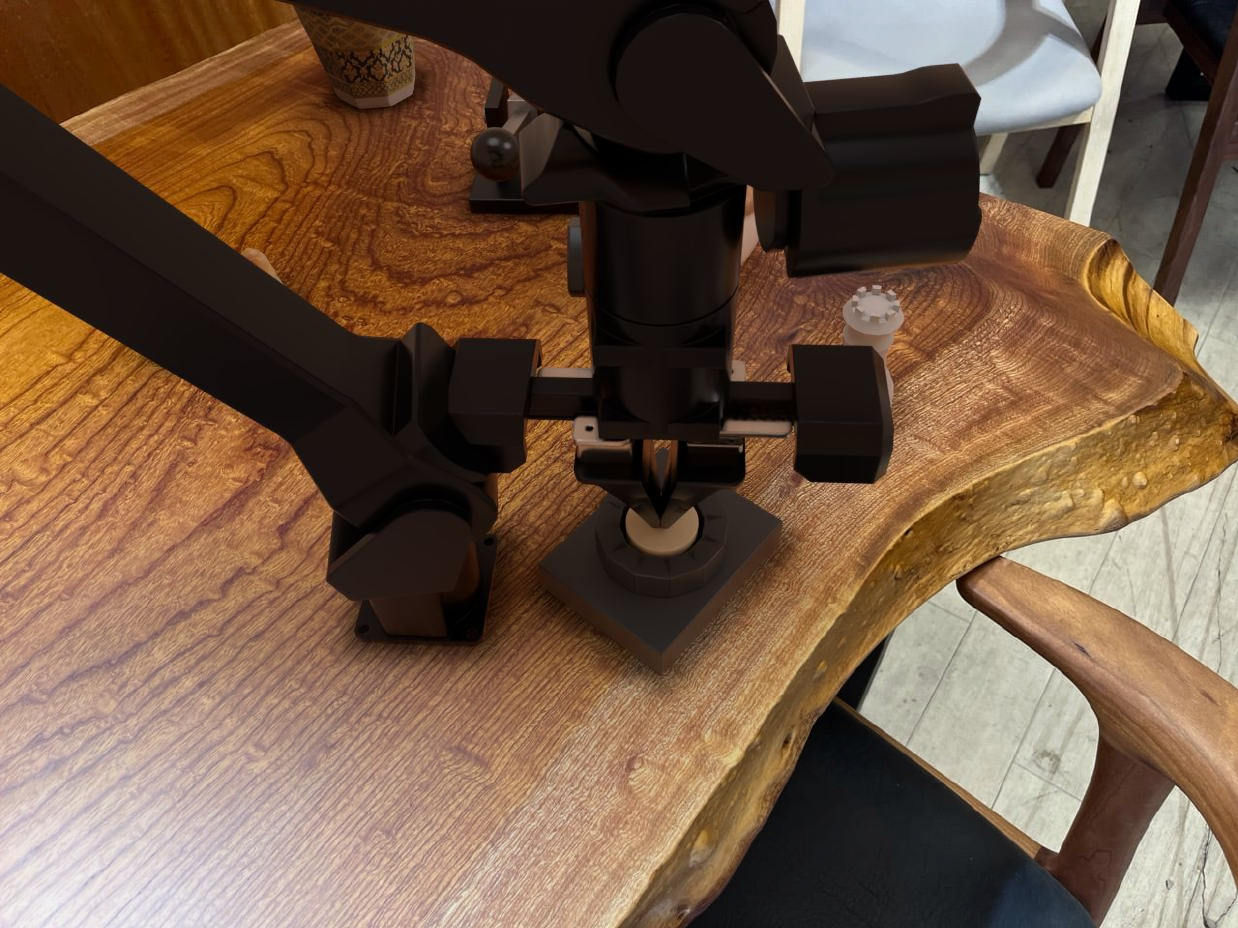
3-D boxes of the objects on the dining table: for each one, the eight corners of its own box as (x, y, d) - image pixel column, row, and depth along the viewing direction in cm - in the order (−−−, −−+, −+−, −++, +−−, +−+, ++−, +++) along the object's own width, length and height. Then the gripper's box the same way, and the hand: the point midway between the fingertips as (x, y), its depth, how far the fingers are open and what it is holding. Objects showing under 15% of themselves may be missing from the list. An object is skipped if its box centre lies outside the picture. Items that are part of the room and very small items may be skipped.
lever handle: (519, 188, 59) (516, 134, 57) (467, 187, 59) (462, 133, 57) (551, 132, 71) (549, 86, 70) (508, 132, 71) (505, 86, 70)
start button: (667, 583, 47) (667, 563, 46) (612, 544, 49) (610, 524, 47) (711, 536, 49) (713, 516, 48) (656, 500, 50) (656, 480, 49)
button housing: (661, 677, 47) (661, 637, 44) (541, 587, 50) (533, 544, 47) (779, 544, 51) (786, 499, 48) (662, 470, 55) (662, 424, 52)
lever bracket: (579, 214, 70) (573, 130, 65) (470, 213, 70) (455, 130, 65) (590, 136, 76) (585, 54, 71) (490, 136, 77) (478, 54, 71)
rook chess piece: (801, 388, 58) (818, 286, 52) (866, 367, 59) (890, 264, 53) (839, 440, 56) (861, 339, 49) (905, 417, 57) (936, 315, 50)
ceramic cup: (460, 82, 82) (439, -39, 74) (370, 134, 77) (337, 11, 70) (362, 37, 88) (333, -81, 80) (272, 83, 83) (232, -37, 75)
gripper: (894, 149, 40) (839, 404, 52) (449, 146, 41) (497, 396, 53) (932, 336, 33) (858, 580, 45) (394, 326, 34) (464, 566, 46)
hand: (660, 520), depth 47 cm, fingers closed, pressing on start button
